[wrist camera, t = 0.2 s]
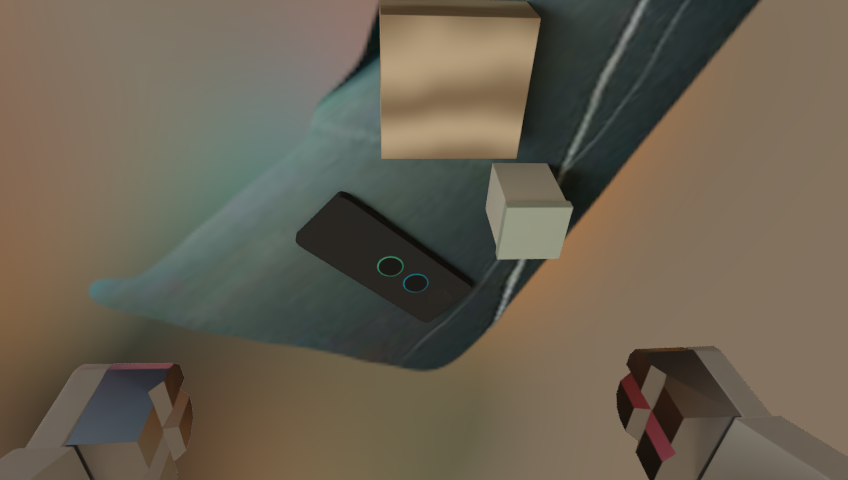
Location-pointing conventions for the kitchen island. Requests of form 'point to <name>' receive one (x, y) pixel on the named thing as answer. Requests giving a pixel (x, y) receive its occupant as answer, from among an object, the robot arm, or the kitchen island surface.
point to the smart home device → (382, 258)
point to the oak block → (454, 77)
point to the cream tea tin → (526, 211)
